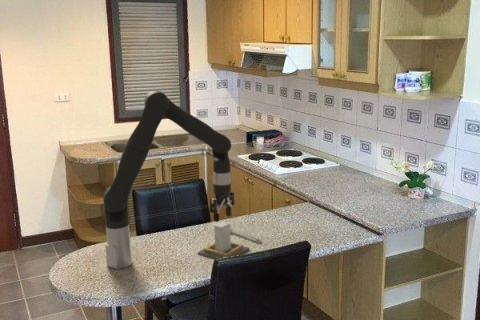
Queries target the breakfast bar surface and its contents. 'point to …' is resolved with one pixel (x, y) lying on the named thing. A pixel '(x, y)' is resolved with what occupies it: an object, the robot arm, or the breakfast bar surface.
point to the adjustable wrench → (244, 236)
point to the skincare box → (222, 237)
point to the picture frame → (212, 253)
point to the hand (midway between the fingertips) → (222, 218)
